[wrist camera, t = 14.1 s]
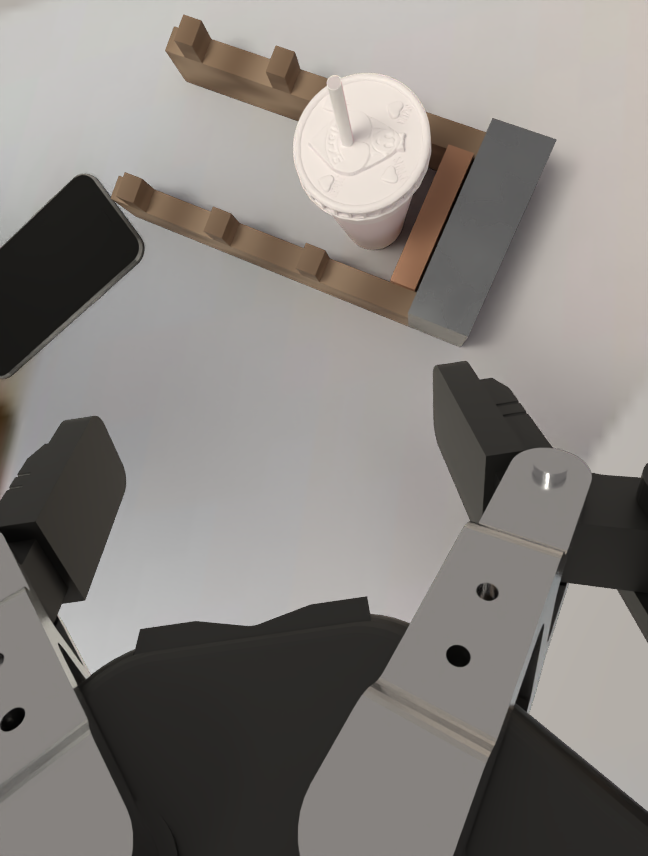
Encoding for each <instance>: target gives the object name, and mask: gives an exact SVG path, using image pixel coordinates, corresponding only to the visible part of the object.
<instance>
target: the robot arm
mask: <svg viewBox="0 0 648 856" xmlns="http://www.w3.org/2000/svg"><path fill="white" fill-rule="evenodd" d="M433 416H434V430H435V436H436V440H437V443H438V446H439V449H440V451H441V453H442V456H443V458H444V460H445V463H446V465H447V467H448V470H449V472H450V474H451V477H452V479H453V481H454V484H455V486H456V488H457V491H458V493H459V495H460V498H461V500H462V502H463V505H464V507H465V509H466V512H467V514H468V516H469V519H470V521H469V522H468V523H467V524H466V525H465V526H464V528H463V529H462V531H461V533H460V535H459V536H458V538H457V540H456V542H455V544H454V545H453V547H452V549H451V551H450V553H449V554H448V556H447V558H446V560H445V562H444V564H443V565H442V567H441V569H440V571H439V573H438V574H437V576H436V578H435V580H434V582H433V583H432V585H431V587H430V589H429V591H428V592H427V594H426V596H425V598H424V600H423V601H422V603H421V605H420V607H419V609H418V610H417V612H416V614H415V616H414V618H413V619H412V621H411V623H408V622H405V621H402V620H399V619H396V618H392V617H388V616H383V615H376V614H370V611H369V605H368V599H367V597H360V598H353V599H346V600H339V601H332V602H325V603H318V604H311V605H309V606H306V607H303V608H301V609H298V610H295V611H293V612H290V613H287V614H285V615H282V616H279V617H277V618H274V619H272V620H269V621H266V622H264V623H261V624H258V625H255V626H241V625H230V624H220V623H209V622H199V621H194V622H187V623H180V624H173V625H166V626H159V627H152V628H145V629H140V632H139V636H138V640H137V644H136V648H135V649H134V650H132V651H130V652H128V653H126V654H124V655H122V656H120V657H117V658H116V659H114V660H112V661H111V662H109V663H107V664H106V665H104V666H103V667H101V668H100V669H98V670H97V671H96V672H94V673H93V674H92V675H91V673H90V672H89V670H88V668H87V666H86V664H85V662H84V660H83V658H82V656H81V655H80V653H79V651H78V649H77V647H76V645H75V643H74V641H73V640H72V638H71V636H70V634H69V632H68V630H67V628H66V626H65V624H64V623H63V621H62V620H61V618H60V617H59V615H58V612H59V609H60V607H61V605H62V604H64V603H71V602H78V601H84V600H85V599H86V597H87V594H88V591H89V588H90V586H91V583H92V580H93V578H94V575H95V572H96V569H97V567H98V564H99V561H100V558H101V556H102V553H103V550H104V547H105V545H106V542H107V539H108V536H109V534H110V531H111V528H112V525H113V523H114V520H115V517H116V514H117V512H118V509H119V506H120V504H121V501H122V498H123V495H124V493H125V489H126V475H125V470H124V467H123V464H122V462H121V460H120V458H119V455H118V453H117V451H116V449H115V447H114V444H113V442H112V440H111V438H110V436H109V433H108V431H107V429H106V427H105V425H104V423H103V421H102V420H101V419H100V418H99V417H98V416H91V417H84V418H78V419H71V420H65V421H63V422H62V423H61V424H60V426H59V427H58V429H57V431H56V432H55V434H54V436H53V437H52V439H51V440H50V442H49V444H44V445H43V446H42V447H41V448H40V449H39V450H37V451H36V452H35V453H34V454H33V455H31V456H30V457H29V458H28V459H27V460H26V462H25V463H24V465H23V467H22V468H21V470H20V471H19V473H18V474H17V475H18V477H15V479H14V480H13V482H12V484H11V485H10V487H9V488H10V490H7V491H6V493H5V494H4V496H3V497H2V499H1V501H0V856H648V811H646V810H645V809H644V808H643V807H642V806H640V805H639V804H638V803H637V802H635V801H634V800H633V799H632V798H631V797H629V796H628V795H627V794H626V793H625V792H623V791H622V790H621V789H620V788H618V787H617V786H616V785H615V784H614V783H612V782H611V781H610V780H609V779H607V778H606V777H605V776H604V775H603V774H601V773H600V772H599V771H598V770H597V769H595V768H594V767H593V766H592V765H590V764H589V763H588V762H587V761H586V760H584V759H583V758H582V757H581V756H579V755H578V754H577V753H576V752H575V751H573V750H572V749H571V748H570V747H569V746H567V745H566V744H565V743H564V742H562V741H561V740H560V739H558V737H556V736H555V735H554V734H553V733H551V732H550V731H549V730H548V729H547V728H545V727H544V726H543V725H542V724H540V723H539V722H538V721H537V720H536V719H534V718H533V717H532V716H531V715H529V712H530V710H531V706H532V703H533V700H534V697H535V693H536V690H537V686H538V682H539V678H540V675H541V670H542V667H543V663H544V660H545V656H546V653H547V650H548V647H549V644H550V641H551V637H552V634H553V631H554V628H555V625H556V622H557V619H558V616H559V613H560V610H561V606H562V604H563V600H564V597H565V594H566V591H567V588H568V585H569V583H574V584H581V585H589V586H596V587H604V588H611V589H617V590H618V592H619V593H620V595H621V597H622V599H623V600H624V602H625V604H626V606H627V607H628V609H629V611H630V613H631V614H632V616H633V618H634V619H635V621H636V623H637V625H638V627H639V628H640V630H641V632H642V633H643V635H644V637H645V639H646V640H647V642H648V463H647V464H646V466H645V467H644V470H643V473H642V476H641V478H638V477H623V476H609V475H600V474H595V473H591V471H590V468H589V467H588V465H587V464H586V463H585V462H584V461H583V460H581V459H580V458H579V457H577V456H575V455H573V454H571V453H569V452H566V451H563V450H559V449H554V448H552V446H551V445H550V443H549V442H548V441H547V439H546V438H545V437H544V435H543V434H542V432H541V431H540V430H539V428H538V427H537V426H536V424H535V423H534V422H533V420H532V419H531V417H530V416H529V415H528V414H526V411H525V409H524V408H523V406H522V405H521V404H520V403H518V400H517V398H516V397H515V395H514V394H513V393H512V391H511V390H510V389H509V388H508V387H507V386H505V385H503V384H501V383H500V382H498V381H496V380H495V379H493V378H488V379H482V380H479V378H478V377H477V375H476V374H475V372H474V371H473V369H472V367H471V366H470V364H469V363H468V362H467V361H462V362H455V363H449V364H442V365H436V366H435V367H434V370H433Z"/></svg>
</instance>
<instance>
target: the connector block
mask: <svg viewBox="0 0 648 856" xmlns="http://www.w3.org/2000/svg"><path fill="white" fill-rule="evenodd" d="M555 142H556V139H553V138H550V137H547V136H544V135H541V134H539V133H536V132H533V131H530V130H527V129H524V128H521V127H518V126H515V125H512V124H509V123H506V122H503V121H500V120H497V119H494V118H492V121H491V123H490V125H489V128H488V130H487V132H486V134H485V137H484V139H483V141H482V144H481V146H480V148H479V151H478V153H477V155H476V157H475V160H474V162H473V164H472V167H471V169H470V171H469V174H468V176H467V178H466V180H465V183H464V185H463V187H462V190H461V192H460V194H459V197H458V199H457V201H456V203H455V206H454V208H453V210H452V213H451V215H450V217H449V220H448V222H447V224H446V226H445V229H444V231H443V233H442V236H441V238H440V240H439V243H438V245H437V247H436V249H435V252H434V254H433V256H432V259H431V261H430V263H429V266H428V268H427V270H426V272H425V275H424V277H423V279H422V282H421V284H420V286H419V289H418V291H417V293H416V295H415V298H414V300H413V302H412V305H411V307H410V309H409V312H408V326H409V327H411V328H414V329H416V330H419V331H421V332H424V333H426V334H429V335H431V336H434V337H436V338H439V339H441V340H443V341H446V342H448V343H451V344H453V345H456V346H458V347H461V346H462V344H463V343H464V342H465V340H466V339H467V338H468V336H469V334H470V332H471V330H472V327H473V325H474V323H475V321H476V318H477V316H478V314H479V312H480V309H481V307H482V305H483V303H484V301H485V298H486V296H487V294H488V292H489V289H490V287H491V285H492V283H493V280H494V278H495V276H496V274H497V272H498V269H499V267H500V265H501V263H502V260H503V258H504V256H505V254H506V251H507V249H508V247H509V245H510V243H511V240H512V238H513V236H514V234H515V231H516V229H517V227H518V225H519V222H520V220H521V218H522V216H523V214H524V211H525V209H526V207H527V205H528V202H529V200H530V198H531V196H532V193H533V191H534V189H535V187H536V185H537V182H538V180H539V178H540V176H541V173H542V171H543V169H544V167H545V164H546V162H547V160H548V158H549V156H550V153H551V151H552V149H553V147H554V144H555Z"/></svg>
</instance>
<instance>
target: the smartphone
mask: <svg viewBox="0 0 648 856" xmlns="http://www.w3.org/2000/svg"><path fill="white" fill-rule="evenodd" d="M143 253H144V244H143V241H142V239H141V238H140V236H139V235H138V234H137V232H136V231H135V229H134V228H133V227H132V225H131V224H130V223H129V221H128V220H127V219H126V217H125V216H124V215H123V213H122V212H121V211H120V209H119V208H118V207H117V205H116V204H115V203H114V201H113V200H112V199H111V197H110V196H109V194H108V193H107V192H106V190H105V189H104V188H103V186H102V185H101V184H100V182H99V181H98V180H97V179H96V178H95V177H93V176H92V175H89V174H80V175H77V176H76V177H74V178H73V179H72V180H71V181H70V182H69V183H68V184H67V185H66V186H65V187H64V188H63V189H62V190H61V191H60V192H59V193H57V194H56V195H55V196H54V197H53V198H52V199H50V200H49V201H48V202H47V204H46V205H45V206H44V207H42V208H41V209H40V210H39V211H38V212H37V213H36V214H35V215H34V216H33V217H32V218H31V219H30V220H29V221H28V222H27V223H26V224H25V225H24V226H23V227H22V228H21V229H20V230H19V231H18V232H17V233H16V234H15V235H13V236H12V237H11V238H10V239H9V240H8V241H7V242H6V243H5V244H4V245H3V246H2V247H1V248H0V378H1V379H4V378H8V377H10V376H12V375H13V374H14V373H15V372H16V371H18V370H19V369H20V368H21V367H22V366H23V365H24V364H25V363H27V362H28V361H29V360H30V359H31V358H32V357H33V356H34V355H36V354H37V353H38V352H39V351H40V350H41V349H42V348H43V347H45V346H46V345H47V344H48V343H49V342H50V341H51V340H52V339H54V338H55V337H56V336H57V335H58V334H59V333H60V332H61V331H62V330H64V329H65V328H66V327H67V326H68V325H69V324H70V323H71V322H73V321H74V320H75V319H76V318H77V317H78V316H79V315H80V314H82V313H83V312H84V311H85V310H86V309H87V308H88V307H89V306H91V305H92V304H93V303H94V302H96V301H97V300H98V299H99V298H100V297H101V296H102V295H103V294H105V293H106V291H107V290H109V289H110V288H111V287H112V286H113V285H114V284H115V283H116V282H118V281H119V280H120V279H121V278H122V277H123V276H124V275H125V274H127V273H128V272H129V271H130V270H131V269H132V268H133V267H134V266H136V265H137V264H138V263H139V262H140V260H141V259H142V256H143Z"/></svg>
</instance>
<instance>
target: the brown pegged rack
mask: <svg viewBox="0 0 648 856" xmlns="http://www.w3.org/2000/svg"><path fill="white" fill-rule="evenodd" d="M165 51H166V52H167V54H168V55H169V57H170V58H171V60H172V61H173V63H174V64H175V66H176V67H177V69H178V70H179V72H180V73H181V75H182V76H183V78H184V79H185V80H186V81H187V82H189V83H192V84H195V85H198V86H201V87H204V88H206V89H209V90H212V91H215V92H218V93H220V94H223V95H226V96H229V97H232V98H234V99H237V100H240V101H243V102H246V103H249V104H251V105H254V106H257V107H260V108H263V109H265V110H268V111H271V112H274V113H277V114H280V115H282V116H285V117H288V118H291V119H294V120H296V121H299V119H300V117H301V115H302V113H303V111H304V109H305V108H306V106H307V105H308V104H309V102H310V101H311V100H312V99H313V98H314V96H315V95H316V94H317V93H319V92H320V91H321V90H322V89H323V88H325V87H326V86H327V80H328V79H327V78H324V77H321V76H319V75H316V74H313V73H310V72H307V71H304V70H301V69H300V66H299V63H298V60H297V57H296V54H295V52H294V51H291V50H288V49H285V48H282V47H279V46H275V49H274V51H273V54H272V56H271V59H268V58H266V57H263V56H260V55H257V54H254V53H251V52H248V51H245V50H242V49H239V48H236V47H233V46H230V45H227V44H224V43H221V42H218V41H215V40H213V39H211V38H210V36H209V34H208V32H207V30H206V28H205V26H204V24H203V23H202V21H201V20H198V19H195V18H192V17H189V16H186V15H183V17H182V20H181V22H180V25H179V28H177V27H174V28H173V31H172V34H171V36H170V39H169V42H168V44H167V47H166V50H165ZM426 114H427V117H428V121H429V126H430V136H431V156H430V160H429V165H428V167H429V168H431V169H434V170H437V172H436V175H435V177H434V179H433V182H432V184H431V186H430V189H429V191H428V193H427V196H426V198H425V200H424V203H423V205H422V207H421V210H420V212H419V214H418V217H417V219H416V221H415V224H414V226H413V228H412V231H411V233H410V235H409V238H408V240H407V242H406V245H405V247H404V249H403V252H402V254H401V256H400V259H399V261H398V263H397V266H396V268H395V270H394V273H393V275H392V277H391V280H390V282H389V281H386V280H383V279H381V278H378V277H376V276H373V275H371V274H368V273H366V272H363V271H360V270H358V269H355V268H353V267H350V266H348V265H345V264H343V263H340V262H338V261H335V260H332V259H330V258H329V256H328V255H327V253H326V251H325V250H323V249H320V248H318V247H315V246H313V245H310V244H307V243H306V244H305V247H304V248H302V247H299V246H297V245H294V244H292V243H289V242H287V241H284V240H282V239H279V238H276V237H274V236H271V235H269V234H266V233H264V232H261V231H259V230H256V229H254V228H251V227H248V226H246V225H243V224H241V223H239V222H238V221H237V220H236V218H235V217H234V216H233V215H232V214H231V213H228V212H226V211H223V210H221V209H218V208H215V207H213V208H212V210H211V212H210V211H208V210H205V209H203V208H200V207H198V206H195V205H192V204H190V203H187V202H185V201H182V200H180V199H177V198H175V197H172V196H170V195H167V194H164V193H162V192H159V191H157V190H154V189H153V188H152V187H151V186H150V185H149V184H147V183H146V182H145V181H144V180H143V179H141V178H139V177H136V176H134V175H131V174H128V173H126V172H125V173H124V176H123V177H121V176H119V177H118V179H117V182H116V185H115V188H114V190H113V193H112V196H111V199H112V200H113V201H115V202H116V203H118V204H119V205H120V206H122V207H123V208H125V209H126V210H127V211H129V212H130V213H132V214H133V215H134V216H136V217H139V218H141V219H144V220H146V221H149V222H151V223H153V224H156V225H158V226H161V227H163V228H166V229H168V230H171V231H173V232H176V233H178V234H181V235H183V236H186V237H188V238H191V239H193V240H196V241H198V242H201V243H203V244H206V245H208V246H210V247H213V248H215V249H218V250H220V251H223V252H225V253H228V254H230V255H233V256H235V257H238V258H240V259H243V260H245V261H248V262H250V263H253V264H255V265H258V266H260V267H263V268H265V269H267V270H270V271H272V272H275V273H277V274H280V275H282V276H285V277H287V278H290V279H292V280H295V281H297V282H300V283H302V284H305V285H307V286H310V287H312V288H315V289H317V290H320V291H322V292H324V293H327V294H329V295H332V296H334V297H337V298H339V299H342V300H344V301H347V302H349V303H352V304H354V305H357V306H359V307H362V308H364V309H367V310H369V311H372V312H374V313H377V314H379V315H382V316H384V317H386V318H389V319H391V320H394V321H396V322H399V323H401V324H404V325H406V326H408V312H409V309H410V307H411V305H412V302H413V300H414V298H415V295H416V293H417V291H418V289H419V286H420V284H421V282H422V279H423V277H424V275H425V272H426V270H427V268H428V266H429V263H430V261H431V259H432V256H433V254H434V252H435V249H436V247H437V245H438V243H439V240H440V238H441V236H442V233H443V231H444V229H445V226H446V224H447V222H448V220H449V217H450V215H451V213H452V210H453V208H454V206H455V203H456V201H457V199H458V197H459V194H460V192H461V190H462V187H463V185H464V183H465V180H466V178H467V176H468V174H469V171H470V169H471V167H472V164H473V162H474V160H475V157H476V155H477V153H478V151H479V148H480V146H481V144H482V141H483V139H484V137H485V134H486V132H483V131H481V130H478V129H475V128H472V127H469V126H466V125H463V124H460V123H457V122H454V121H451V120H448V119H445V118H442V117H439V116H436V115H433V114H430V113H427V112H426Z"/></svg>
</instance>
